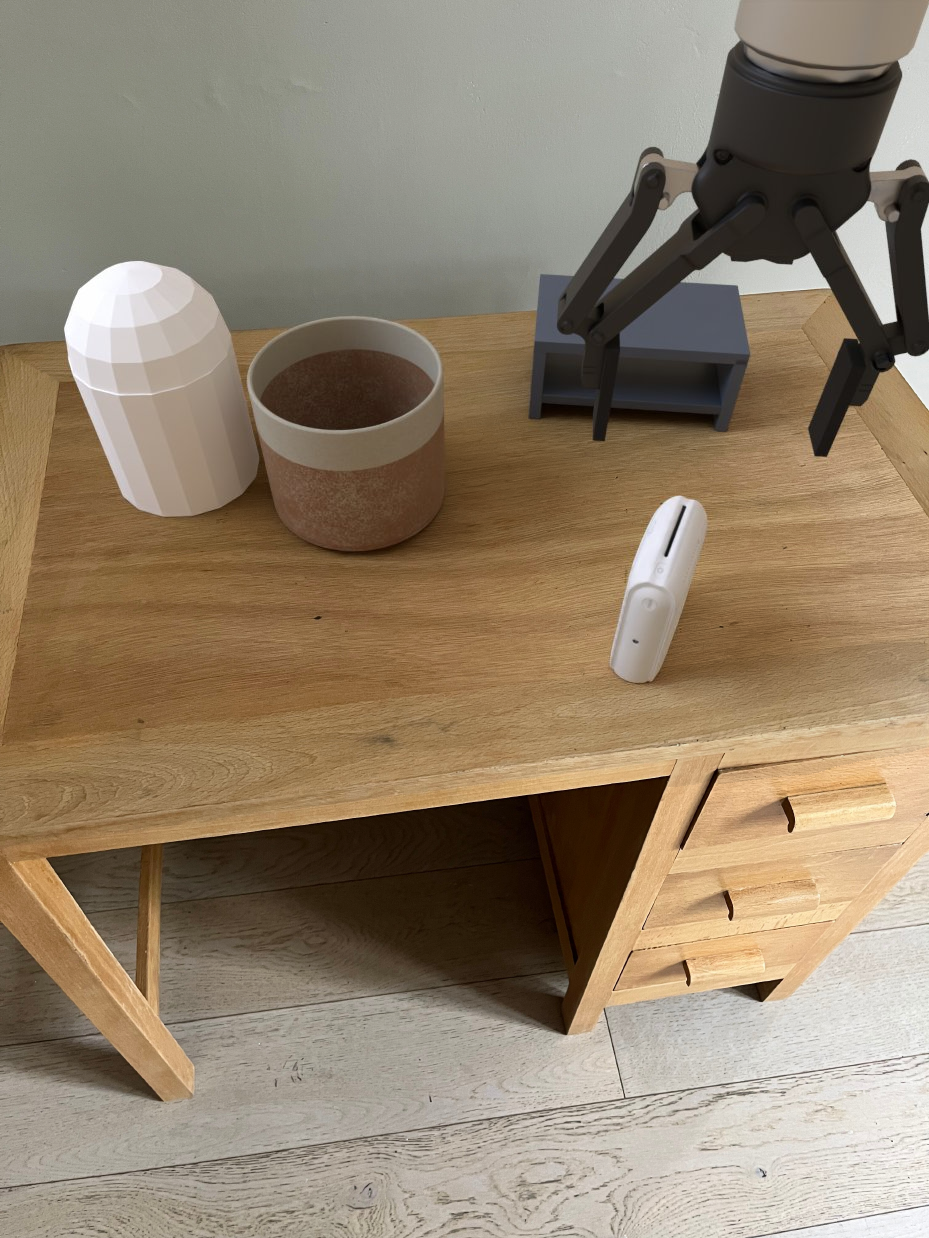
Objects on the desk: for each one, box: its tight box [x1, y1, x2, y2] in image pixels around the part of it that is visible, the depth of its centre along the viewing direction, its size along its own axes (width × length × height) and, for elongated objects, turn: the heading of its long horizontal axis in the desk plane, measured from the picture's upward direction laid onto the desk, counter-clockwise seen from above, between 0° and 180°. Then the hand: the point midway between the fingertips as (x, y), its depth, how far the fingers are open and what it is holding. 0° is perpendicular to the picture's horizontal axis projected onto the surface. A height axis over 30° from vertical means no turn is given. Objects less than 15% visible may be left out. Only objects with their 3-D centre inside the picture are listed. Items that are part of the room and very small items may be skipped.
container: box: [63, 260, 260, 518], centre depth 75 cm, size 14×13×20 cm
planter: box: [246, 315, 446, 552], centre depth 75 cm, size 16×16×14 cm
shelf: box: [528, 273, 751, 432], centre depth 87 cm, size 20×12×9 cm, turn 84°
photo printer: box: [609, 495, 708, 684], centre depth 65 cm, size 10×4×12 cm, turn 157°
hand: (707, 435), depth 54 cm, fingers open, 13 cm apart
